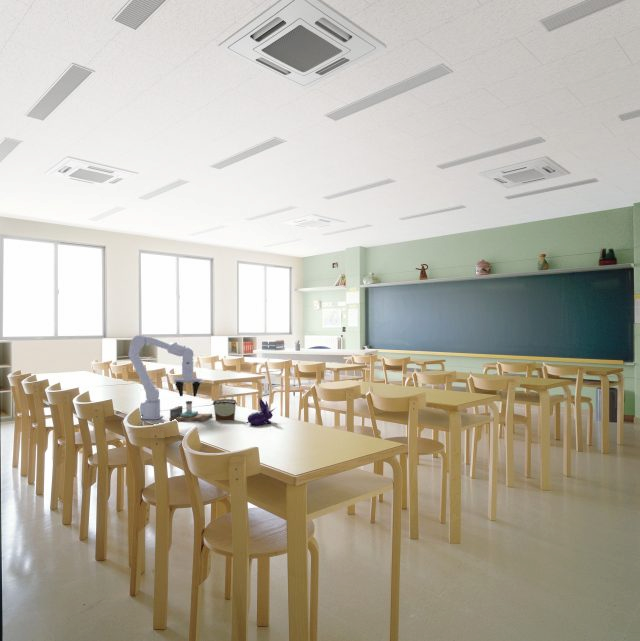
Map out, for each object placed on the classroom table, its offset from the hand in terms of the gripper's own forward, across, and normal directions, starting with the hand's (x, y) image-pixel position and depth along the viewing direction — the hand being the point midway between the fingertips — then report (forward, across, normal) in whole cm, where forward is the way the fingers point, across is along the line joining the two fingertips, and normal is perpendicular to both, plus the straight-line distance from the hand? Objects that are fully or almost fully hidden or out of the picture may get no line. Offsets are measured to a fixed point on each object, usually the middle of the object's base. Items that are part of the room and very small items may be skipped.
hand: (188, 396), depth 259 cm
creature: (+11, -44, +16) cm, 48 cm away
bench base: (+10, -5, +8) cm, 14 cm away
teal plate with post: (+8, -4, +8) cm, 12 cm away
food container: (+11, -24, +8) cm, 27 cm away
